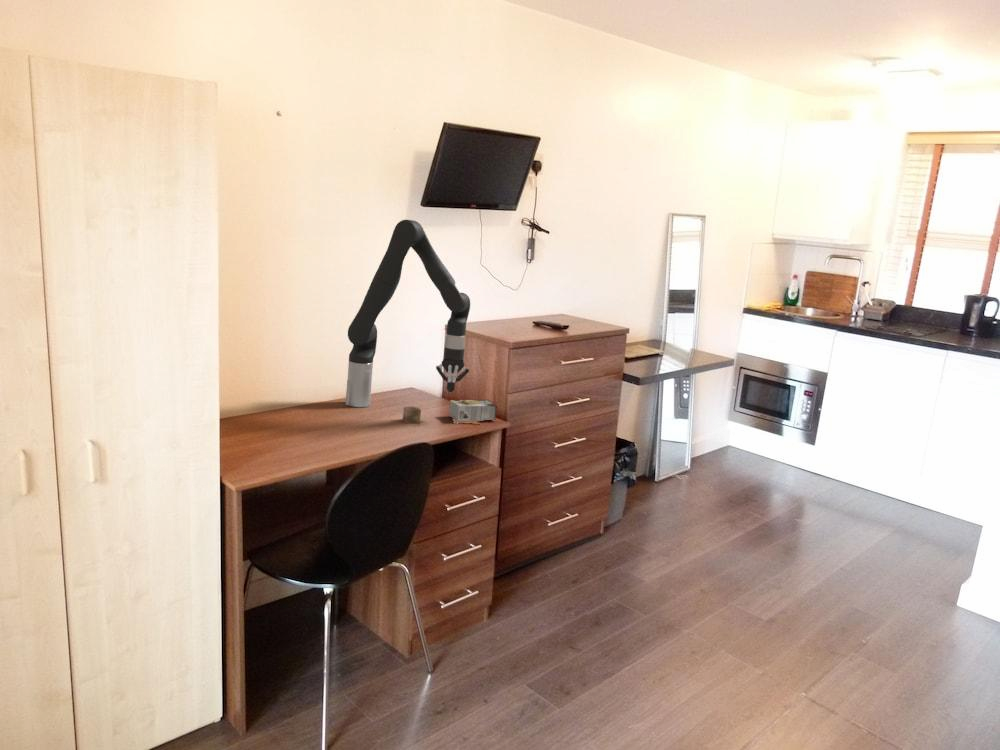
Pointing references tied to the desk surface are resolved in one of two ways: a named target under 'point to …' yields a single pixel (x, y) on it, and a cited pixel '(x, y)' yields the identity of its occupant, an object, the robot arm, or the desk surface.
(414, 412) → the walnut block
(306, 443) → the desk surface
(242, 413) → the desk surface
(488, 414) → the coffee box
